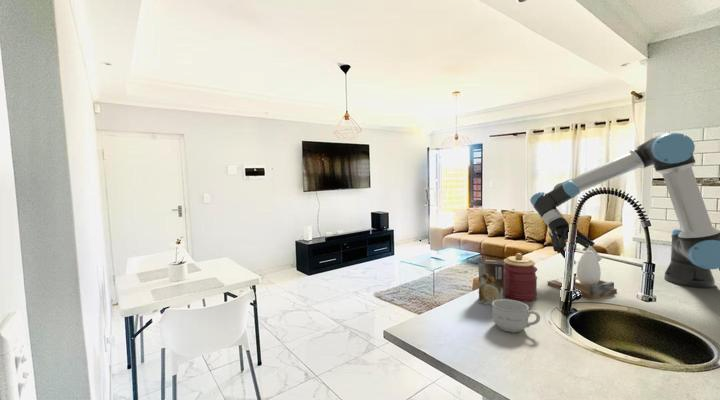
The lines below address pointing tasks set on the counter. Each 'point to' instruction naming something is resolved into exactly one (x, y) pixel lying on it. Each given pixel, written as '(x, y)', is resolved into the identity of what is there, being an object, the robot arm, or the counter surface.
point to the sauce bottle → (588, 269)
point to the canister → (520, 278)
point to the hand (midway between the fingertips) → (586, 262)
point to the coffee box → (491, 280)
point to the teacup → (512, 315)
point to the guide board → (589, 288)
